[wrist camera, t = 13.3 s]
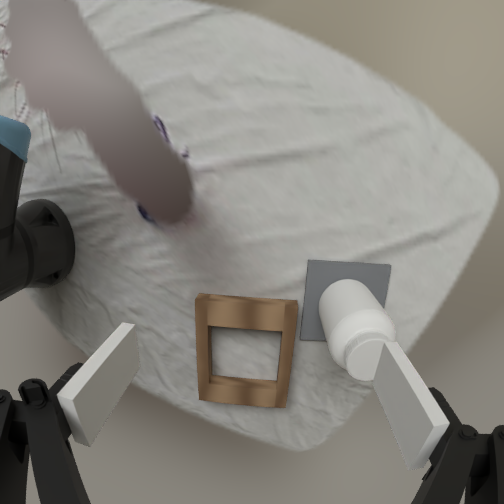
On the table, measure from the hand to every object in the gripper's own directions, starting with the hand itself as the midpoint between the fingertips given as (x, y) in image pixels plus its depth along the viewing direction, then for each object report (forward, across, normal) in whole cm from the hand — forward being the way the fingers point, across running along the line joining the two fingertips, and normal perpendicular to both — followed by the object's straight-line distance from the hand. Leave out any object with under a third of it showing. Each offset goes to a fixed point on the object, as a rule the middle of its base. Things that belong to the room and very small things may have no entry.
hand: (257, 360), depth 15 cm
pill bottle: (+27, +12, -8) cm, 30 cm away
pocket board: (+28, -2, -17) cm, 32 cm away
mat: (+27, +12, -8) cm, 31 cm away
